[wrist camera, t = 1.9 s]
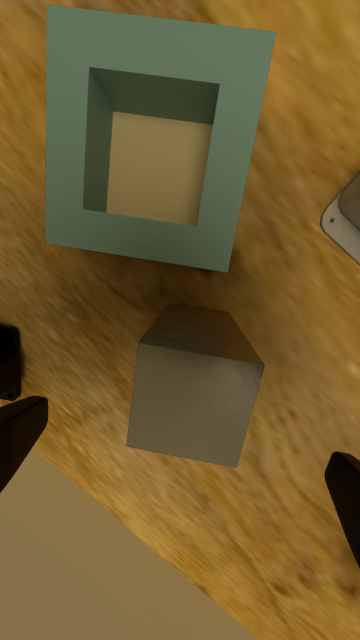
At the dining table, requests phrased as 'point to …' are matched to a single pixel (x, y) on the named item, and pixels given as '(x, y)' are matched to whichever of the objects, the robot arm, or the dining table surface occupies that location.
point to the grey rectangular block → (194, 386)
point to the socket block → (150, 133)
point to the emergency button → (345, 219)
